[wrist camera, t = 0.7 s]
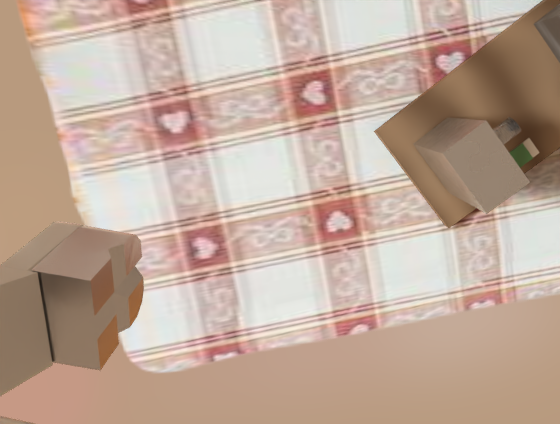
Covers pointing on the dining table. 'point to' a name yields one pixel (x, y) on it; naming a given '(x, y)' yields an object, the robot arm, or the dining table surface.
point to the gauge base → (488, 103)
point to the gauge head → (474, 160)
